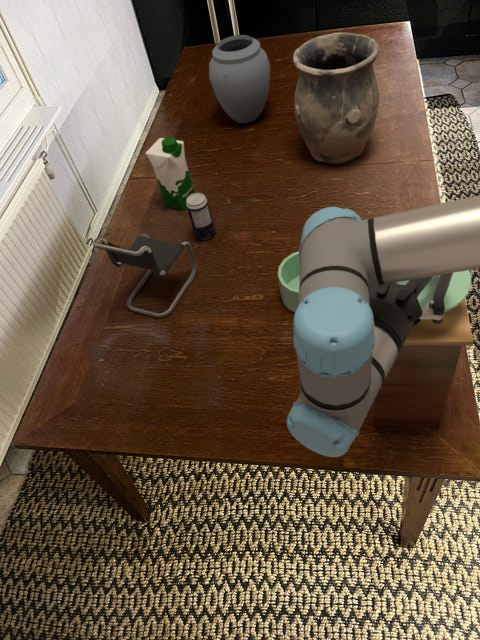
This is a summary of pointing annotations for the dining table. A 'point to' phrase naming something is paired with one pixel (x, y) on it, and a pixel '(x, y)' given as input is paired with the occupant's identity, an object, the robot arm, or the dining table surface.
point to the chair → (148, 263)
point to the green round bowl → (290, 281)
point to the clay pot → (336, 95)
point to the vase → (240, 77)
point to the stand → (423, 372)
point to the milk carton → (171, 171)
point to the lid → (454, 293)
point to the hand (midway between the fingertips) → (436, 221)
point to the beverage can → (200, 215)
